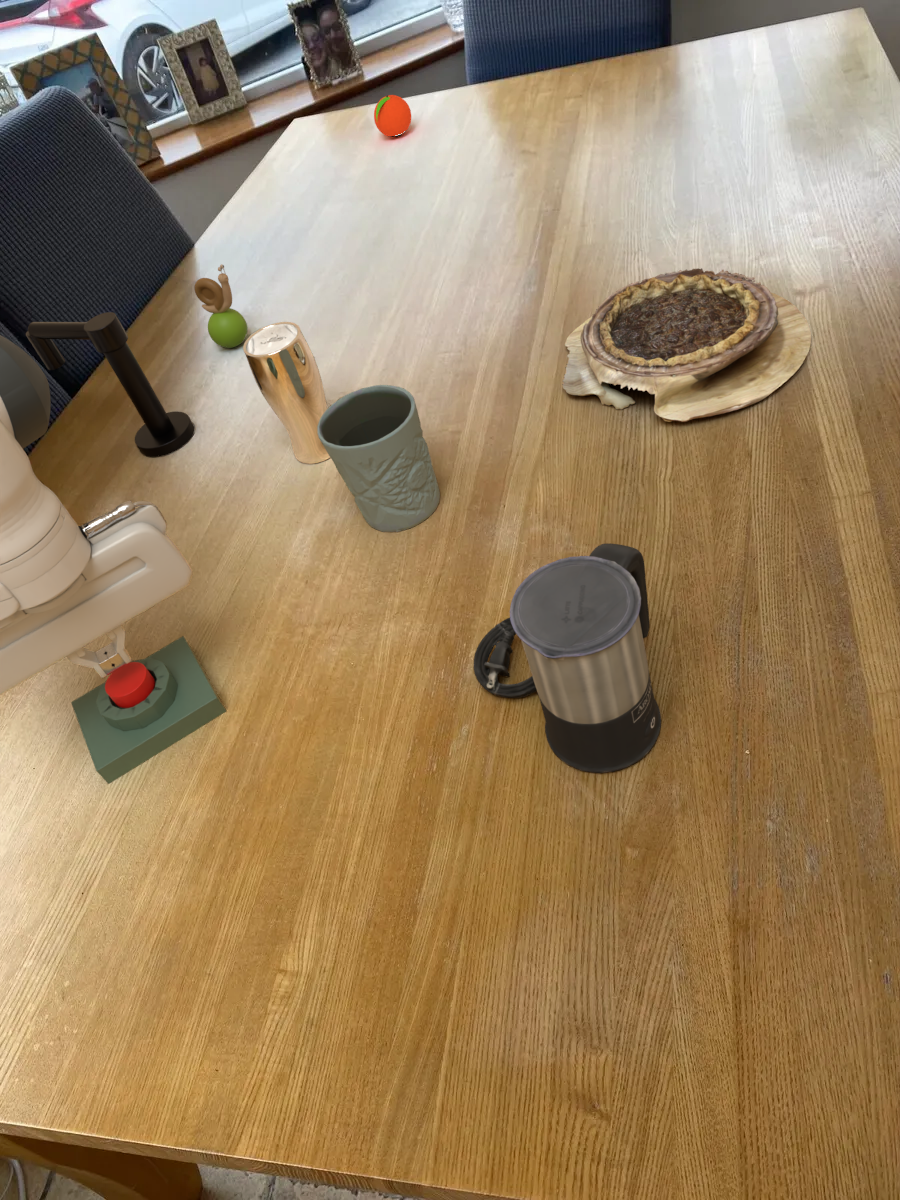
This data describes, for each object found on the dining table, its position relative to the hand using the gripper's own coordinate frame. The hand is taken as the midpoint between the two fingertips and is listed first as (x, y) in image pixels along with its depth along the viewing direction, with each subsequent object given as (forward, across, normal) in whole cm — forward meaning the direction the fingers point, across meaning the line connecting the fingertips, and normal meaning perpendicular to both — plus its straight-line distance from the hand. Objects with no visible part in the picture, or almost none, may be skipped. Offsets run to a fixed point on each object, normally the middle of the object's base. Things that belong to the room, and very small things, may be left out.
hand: (115, 665), depth 83 cm
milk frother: (+8, -30, +25) cm, 40 cm away
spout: (-4, -13, -49) cm, 50 cm away
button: (+4, 0, 0) cm, 4 cm away
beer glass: (+7, -30, -25) cm, 40 cm away
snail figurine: (+7, -32, -58) cm, 67 cm away
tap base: (+7, -16, -44) cm, 47 cm away
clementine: (+7, -83, -102) cm, 132 cm away
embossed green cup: (+7, -32, -8) cm, 34 cm away
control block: (+7, 0, 0) cm, 7 cm away
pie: (+8, -69, -6) cm, 70 cm away
